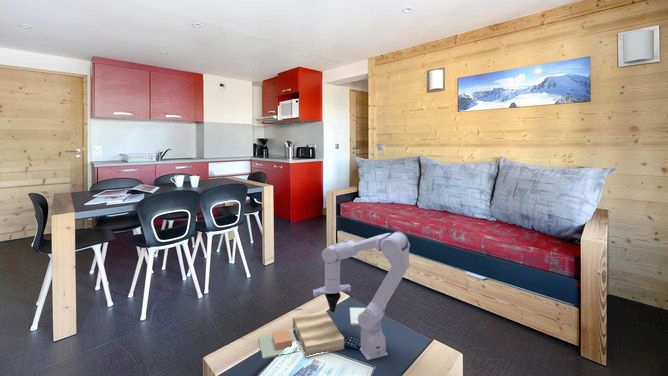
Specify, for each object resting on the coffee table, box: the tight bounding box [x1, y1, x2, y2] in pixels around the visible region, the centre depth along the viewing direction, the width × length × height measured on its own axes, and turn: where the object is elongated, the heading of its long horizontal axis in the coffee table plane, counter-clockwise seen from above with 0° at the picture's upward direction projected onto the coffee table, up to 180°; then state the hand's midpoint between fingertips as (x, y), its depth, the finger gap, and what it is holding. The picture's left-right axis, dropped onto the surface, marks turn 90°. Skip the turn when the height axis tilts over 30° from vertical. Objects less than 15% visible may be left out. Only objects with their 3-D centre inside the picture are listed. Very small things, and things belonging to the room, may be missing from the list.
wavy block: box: [292, 310, 345, 357], centre depth 117 cm, size 20×14×4 cm
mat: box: [258, 330, 301, 360], centre depth 112 cm, size 12×13×1 cm
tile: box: [271, 329, 292, 350], centre depth 113 cm, size 7×6×2 cm
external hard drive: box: [349, 307, 367, 327], centre depth 132 cm, size 2×8×12 cm
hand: (332, 310), depth 118 cm, fingers closed
